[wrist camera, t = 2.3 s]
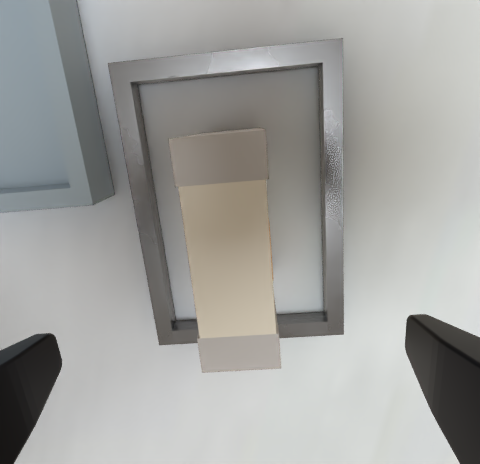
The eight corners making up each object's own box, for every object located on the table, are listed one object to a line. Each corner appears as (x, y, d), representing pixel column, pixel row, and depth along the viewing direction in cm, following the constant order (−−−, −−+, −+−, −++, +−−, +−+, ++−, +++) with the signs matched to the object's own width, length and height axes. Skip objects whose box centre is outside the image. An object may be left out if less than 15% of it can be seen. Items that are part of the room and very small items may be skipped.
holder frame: (163, 334, 24) (159, 345, 23) (116, 66, 19) (107, 63, 18) (339, 324, 23) (343, 334, 22) (337, 43, 18) (342, 38, 17)
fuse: (220, 278, 23) (202, 372, 14) (204, 132, 20) (168, 138, 11) (269, 275, 22) (281, 368, 14) (259, 127, 20) (265, 129, 11)
